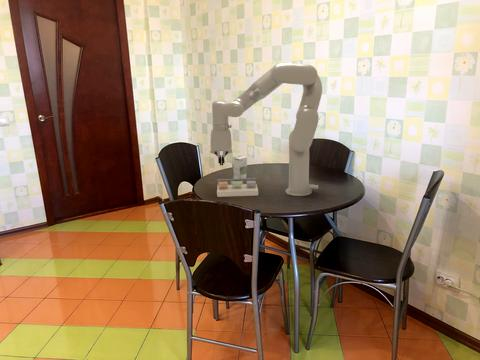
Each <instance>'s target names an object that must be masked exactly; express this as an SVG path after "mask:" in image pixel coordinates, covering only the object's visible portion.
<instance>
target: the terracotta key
mask: <svg viewBox="0 0 480 360" xmlns="http://www.w3.org/2000/svg"><path fill="white" fill-rule="evenodd" d="M218 187H228V182H218Z"/></svg>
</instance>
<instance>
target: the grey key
mask: <svg viewBox="0 0 480 360" xmlns="http://www.w3.org/2000/svg"><path fill="white" fill-rule="evenodd" d="M246 184H247V186H256V184H257V180H256V181H246Z"/></svg>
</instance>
